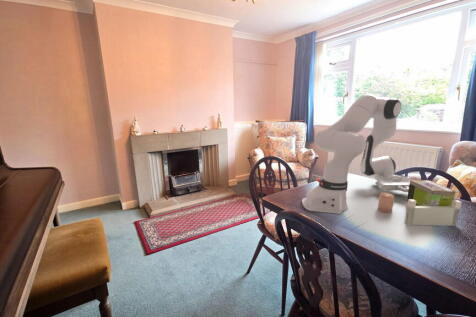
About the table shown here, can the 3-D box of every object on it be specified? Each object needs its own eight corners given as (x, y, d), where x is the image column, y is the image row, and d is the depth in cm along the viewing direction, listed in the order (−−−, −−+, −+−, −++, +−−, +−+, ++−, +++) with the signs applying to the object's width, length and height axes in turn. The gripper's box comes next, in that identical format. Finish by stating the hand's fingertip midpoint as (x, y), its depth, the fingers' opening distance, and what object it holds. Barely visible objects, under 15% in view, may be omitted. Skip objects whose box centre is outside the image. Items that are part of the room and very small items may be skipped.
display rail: (407, 224, 99) (411, 201, 97) (404, 222, 101) (408, 199, 99) (456, 225, 98) (461, 202, 95) (452, 223, 100) (457, 200, 97)
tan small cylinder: (381, 212, 110) (383, 197, 108) (375, 207, 116) (377, 192, 114) (394, 213, 110) (397, 197, 108) (387, 207, 116) (389, 192, 114)
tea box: (449, 222, 101) (457, 191, 97) (426, 221, 102) (432, 190, 98) (425, 207, 116) (430, 179, 112) (404, 206, 116) (409, 179, 113)
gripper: (374, 176, 134) (387, 185, 120) (411, 177, 132) (428, 185, 119) (373, 187, 135) (386, 196, 122) (409, 187, 134) (426, 196, 120)
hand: (407, 190), depth 120 cm, fingers closed
